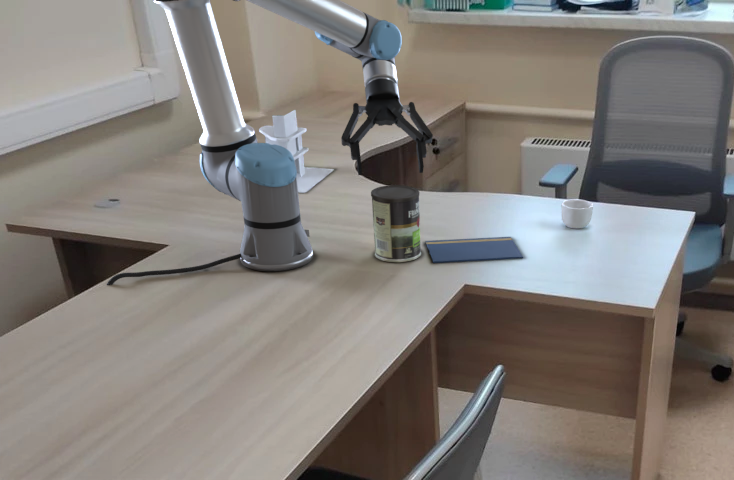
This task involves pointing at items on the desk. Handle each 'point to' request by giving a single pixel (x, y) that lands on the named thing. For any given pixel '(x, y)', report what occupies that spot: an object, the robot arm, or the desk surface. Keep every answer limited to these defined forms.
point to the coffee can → (396, 223)
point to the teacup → (576, 213)
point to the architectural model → (293, 148)
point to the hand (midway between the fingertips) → (391, 171)
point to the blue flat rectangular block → (473, 249)
